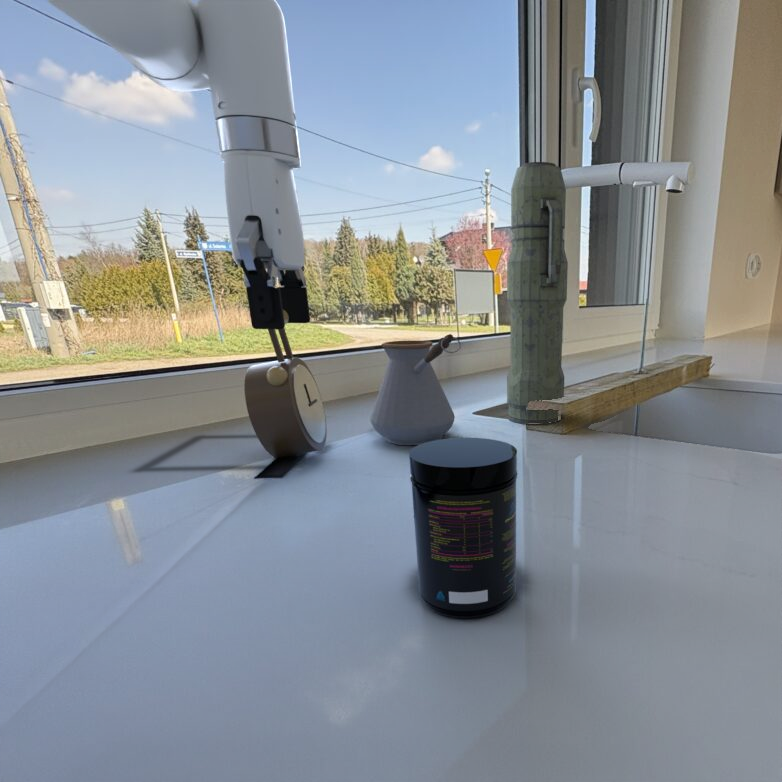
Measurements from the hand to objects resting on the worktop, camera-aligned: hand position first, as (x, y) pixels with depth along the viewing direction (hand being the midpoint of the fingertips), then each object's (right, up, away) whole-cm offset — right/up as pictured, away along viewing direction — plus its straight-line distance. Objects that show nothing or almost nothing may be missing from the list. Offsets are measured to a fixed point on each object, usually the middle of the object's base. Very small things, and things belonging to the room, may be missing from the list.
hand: (283, 325), depth 64 cm
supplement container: (+23, -27, -24) cm, 43 cm away
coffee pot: (+14, -13, +11) cm, 22 cm away
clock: (-4, -7, +3) cm, 8 cm away
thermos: (+29, -6, +27) cm, 40 cm away
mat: (-8, -15, +5) cm, 18 cm away
